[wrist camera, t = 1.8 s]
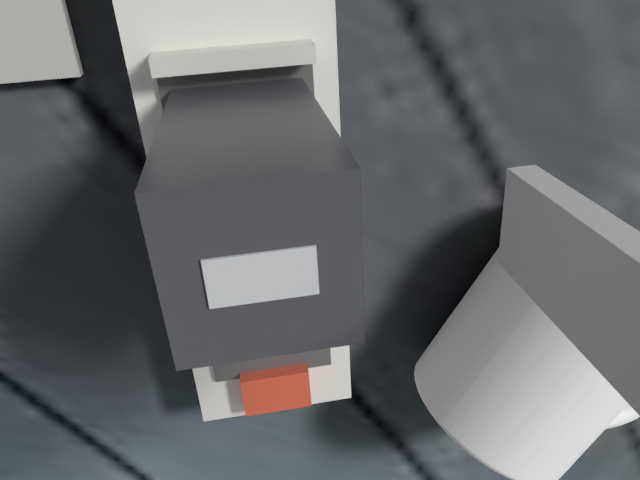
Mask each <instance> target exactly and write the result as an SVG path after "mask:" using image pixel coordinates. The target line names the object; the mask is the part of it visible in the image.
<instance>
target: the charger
mask: <svg viewBox="0 0 640 480" xmlns="http://www.w3.org/2000/svg"><path fill="white" fill-rule="evenodd" d="M134 195H135V200H136V204H137V208H138V212H139V217H140V221H141V225H142V229H143V233H144V238H145V242H146V246H147V250H148V255H149V259H150V263H151V267H152V271H153V276H154V280H155V284H156V288H157V293H158V297H159V301H160V305H161V310H162V314H163V318H164V322H165V326H166V331H167V335H168V339H169V343H170V348H171V352H172V356H173V360H174V364H175V369H176V371H181V370H187V369H194V368H201V367H207V366H214V365H221V364H227V363H234V362H241V361H247V360H254V359H261V358H267V357H274V356H281V355H287V354H294V353H301V352H307V351H314V350H321V349H327V348H334V347H341V346H347V345H354V344H361V343H365V338H364V297H363V256H362V216H361V175H360V167H359V165H358V164H357V162H356V161H355V159H354V158H353V156H352V154H351V153H350V151H349V150H348V148H347V147H346V145H345V144H344V142H343V140H342V139H341V137H340V136H339V134H338V133H337V131H336V130H335V128H334V127H333V125H332V123H331V122H330V120H329V119H328V117H327V116H326V114H325V113H324V111H323V109H322V108H321V106H320V105H319V103H318V102H317V100H316V99H315V97H314V96H313V94H312V92H311V91H310V89H309V88H308V86H307V85H306V83H305V82H304V80H303V78H302V77H300V78H290V79H279V80H268V81H257V82H247V83H236V84H225V85H214V86H204V87H193V88H182V89H171V91H170V94H169V97H168V100H167V102H166V105H165V108H164V111H163V114H162V117H161V119H160V122H159V125H158V128H157V131H156V133H155V136H154V139H153V142H152V145H151V148H150V150H149V153H148V156H147V159H146V162H145V164H144V167H143V170H142V173H141V176H140V179H139V181H138V184H137V187H136V190H135V193H134Z"/></svg>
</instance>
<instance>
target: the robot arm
mask: <svg viewBox="0 0 640 480" xmlns="http://www.w3.org/2000/svg"><path fill="white" fill-rule="evenodd" d="M498 263H499V265H500V266H501V267H502V268H503V269H504V270H505V271H506V272H507V273H508V274H509V275H510V276H511V278H512V279H513V280H514V281H515V282H516V283H517V284H518V285H519V286H520V287H521V288H522V289H523V290H524V292H525V293H526V294H527V295H528V296H529V297H530V298H531V299H532V300H533V301H534V302H535V303H536V304H537V306H538V307H539V308H540V309H541V310H542V311H543V312H544V313H545V314H546V315H547V316H548V317H549V319H550V320H551V321H552V322H553V323H554V324H555V325H556V326H557V327H558V328H559V329H560V330H561V331H562V333H563V334H564V335H565V336H566V337H567V338H568V339H569V340H570V341H571V342H572V343H573V344H574V345H575V347H576V348H577V349H578V350H579V351H580V352H581V353H582V354H583V355H584V356H585V357H586V358H587V360H588V361H589V362H590V363H591V364H592V365H593V366H594V367H595V368H596V369H597V370H598V371H599V372H600V374H601V375H602V376H603V377H604V378H605V379H606V380H607V381H608V382H609V383H610V384H611V385H612V386H613V388H614V389H615V390H616V391H617V392H618V393H619V394H620V395H621V396H622V397H623V398H624V399H625V401H626V402H627V403H628V404H629V405H630V406H631V407H632V408H633V409H634V410H635V411H636V412H637V413H638V415H639V416H640V232H639V231H638V230H636V229H635V228H633V227H632V226H630V225H629V224H627V223H625V222H624V221H622V220H621V219H619V218H618V217H616V216H614V215H613V214H611V213H610V212H608V211H607V210H605V209H604V208H602V207H600V206H599V205H597V204H596V203H594V202H593V201H591V200H589V199H588V198H586V197H585V196H583V195H582V194H580V193H579V192H577V191H575V190H574V189H572V188H571V187H569V186H568V185H566V184H565V183H563V182H561V181H560V180H558V179H557V178H555V177H554V176H552V175H550V174H549V173H547V172H546V171H544V170H543V169H541V168H540V167H538V166H536V165H531V166H522V167H514V168H507V175H506V185H505V195H504V205H503V215H502V224H501V234H500V244H499V254H498Z"/></svg>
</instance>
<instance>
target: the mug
mask: <svg viewBox="0 0 640 480" xmlns="http://www.w3.org/2000/svg"><path fill="white" fill-rule="evenodd" d="M498 254H499V248H498V249H497V251H496V252H495V254H494V255H493V256H492V258H491V259H490V261H489V262H488V263H487V265H486V266H485V267H484V269H483V270H482V272H481V273H480V274H479V276H478V277H477V279H476V280H475V281H474V283H473V284H472V286H471V287H470V288H469V290H468V291H467V293H466V294H465V295H464V297H463V298H462V300H461V301H460V302H459V304H458V305H457V307H456V308H455V309H454V311H453V312H452V314H451V315H450V316H449V318H448V319H447V321H446V322H445V323H444V325H443V326H442V328H441V329H440V330H439V332H438V333H437V335H436V336H435V337H434V339H433V340H432V342H431V343H430V344H429V346H428V347H427V349H426V350H425V351H424V353H423V354H422V356H421V357H420V358H419V360H418V361H417V363H416V366H415V370H414V377H415V383H416V387H417V390H418V392H419V394H420V397H421V399H422V401H423V402H424V404H425V406H426V407H427V409H428V410H429V412H430V413H431V415H432V416H433V417H434V419H435V420H436V421H437V423H438V424H439V425H440V426H441V427H442V428H443V430H444V431H445V432H446V433H447V434H448V435H449V436H450V437H451V438H452V439H453V440H454V441H455V442H456V443H457V444H458V445H459V446H461V447H462V448H463V449H464V450H465V451H466V452H468V453H469V454H470V455H471V456H473V457H474V458H475V459H477V460H478V461H480V462H481V463H482V464H484V465H485V466H487V467H488V468H490V469H492V470H494V471H495V472H497V473H499V474H501V475H503V476H505V477H507V478H509V479H511V480H559V479H560V477H561V476H562V475H563V474H564V473H565V472H566V471H567V470H568V469H569V468H570V467H571V466H572V465H573V463H574V462H575V461H576V460H577V459H578V458H579V457H580V456H581V455H582V454H583V453H584V452H585V450H586V449H587V448H588V447H589V446H590V445H591V444H592V443H593V442H594V441H595V440H596V439H597V438H598V436H599V435H600V434H601V433H602V432H603V431H604V430H605V429H609V428H614V427H617V426H621V425H623V424H626V423H629V422H631V421H633V420H635V419H637V418H639V417H640V416H639V415H638V413H637V412H636V411H635V410H634V409H633V408H632V407H631V406H630V405H629V404H628V403H627V402H626V401H625V399H624V398H623V397H622V396H621V395H620V394H619V393H618V392H617V391H616V390H615V389H614V388H613V386H612V385H611V384H610V383H609V382H608V381H607V380H606V379H605V378H604V377H603V376H602V375H601V374H600V372H599V371H598V370H597V369H596V368H595V367H594V366H593V365H592V364H591V363H590V362H589V361H588V360H587V358H586V357H585V356H584V355H583V354H582V353H581V352H580V351H579V350H578V349H577V348H576V347H575V345H574V344H573V343H572V342H571V341H570V340H569V339H568V338H567V337H566V336H565V335H564V334H563V333H562V331H561V330H560V329H559V328H558V327H557V326H556V325H555V324H554V323H553V322H552V321H551V320H550V319H549V317H548V316H547V315H546V314H545V313H544V312H543V311H542V310H541V309H540V308H539V307H538V306H537V304H536V303H535V302H534V301H533V300H532V299H531V298H530V297H529V296H528V295H527V294H526V293H525V292H524V290H523V289H522V288H521V287H520V286H519V285H518V284H517V283H516V282H515V281H514V280H513V279H512V278H511V276H510V275H509V274H508V273H507V272H506V271H505V270H504V269H503V268H502V267H501V266H500V265H499V263H498Z"/></svg>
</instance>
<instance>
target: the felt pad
mask: <svg viewBox="0 0 640 480" xmlns="http://www.w3.org/2000/svg"><path fill="white" fill-rule="evenodd" d="M83 74H84V72H83V68H82V64H81V60H80V56H79V52H78V49H77V45H76V41H75V37H74V33H73V29H72V25H71V21H70V17H69V13H68V9H67V5H66V1H65V0H0V84H5V83H16V82H28V81H39V80H50V79H61V78H73V77H81V76H82V75H83Z"/></svg>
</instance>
